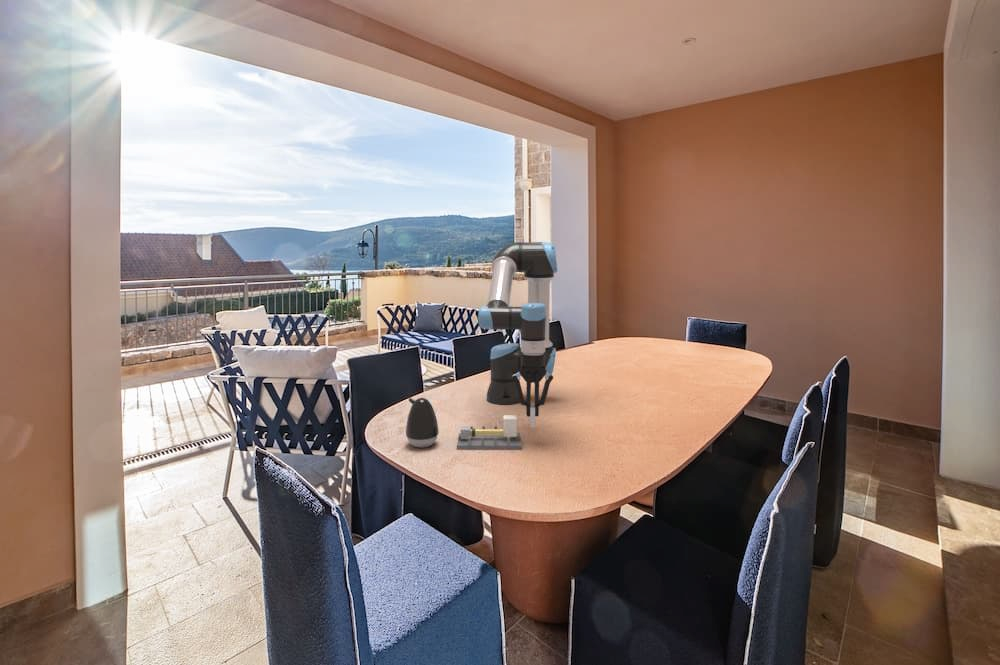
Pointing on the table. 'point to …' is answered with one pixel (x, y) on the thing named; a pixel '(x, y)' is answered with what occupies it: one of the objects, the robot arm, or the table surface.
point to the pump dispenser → (421, 424)
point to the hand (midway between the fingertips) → (532, 426)
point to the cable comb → (487, 439)
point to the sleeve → (509, 426)
